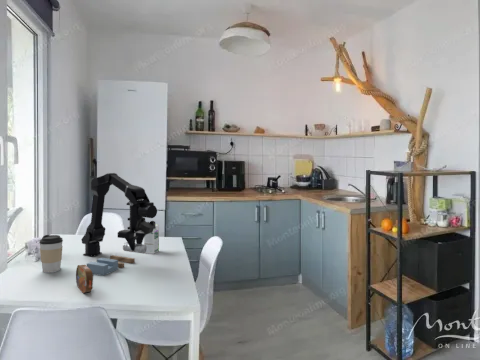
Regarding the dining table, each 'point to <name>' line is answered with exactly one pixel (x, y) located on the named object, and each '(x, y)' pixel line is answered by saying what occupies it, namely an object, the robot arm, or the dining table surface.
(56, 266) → the coffee cup
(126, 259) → the guide channel
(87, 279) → the tin
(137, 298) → the dining table surface
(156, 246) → the syrup box
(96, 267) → the v block
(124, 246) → the axle
